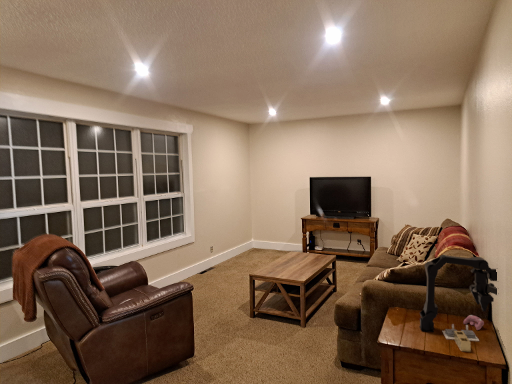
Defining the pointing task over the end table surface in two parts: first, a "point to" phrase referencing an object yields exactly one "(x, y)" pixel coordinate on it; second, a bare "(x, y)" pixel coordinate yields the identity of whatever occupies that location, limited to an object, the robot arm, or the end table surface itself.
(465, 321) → the video game controller
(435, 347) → the end table surface
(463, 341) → the gold cutout plate
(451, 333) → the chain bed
